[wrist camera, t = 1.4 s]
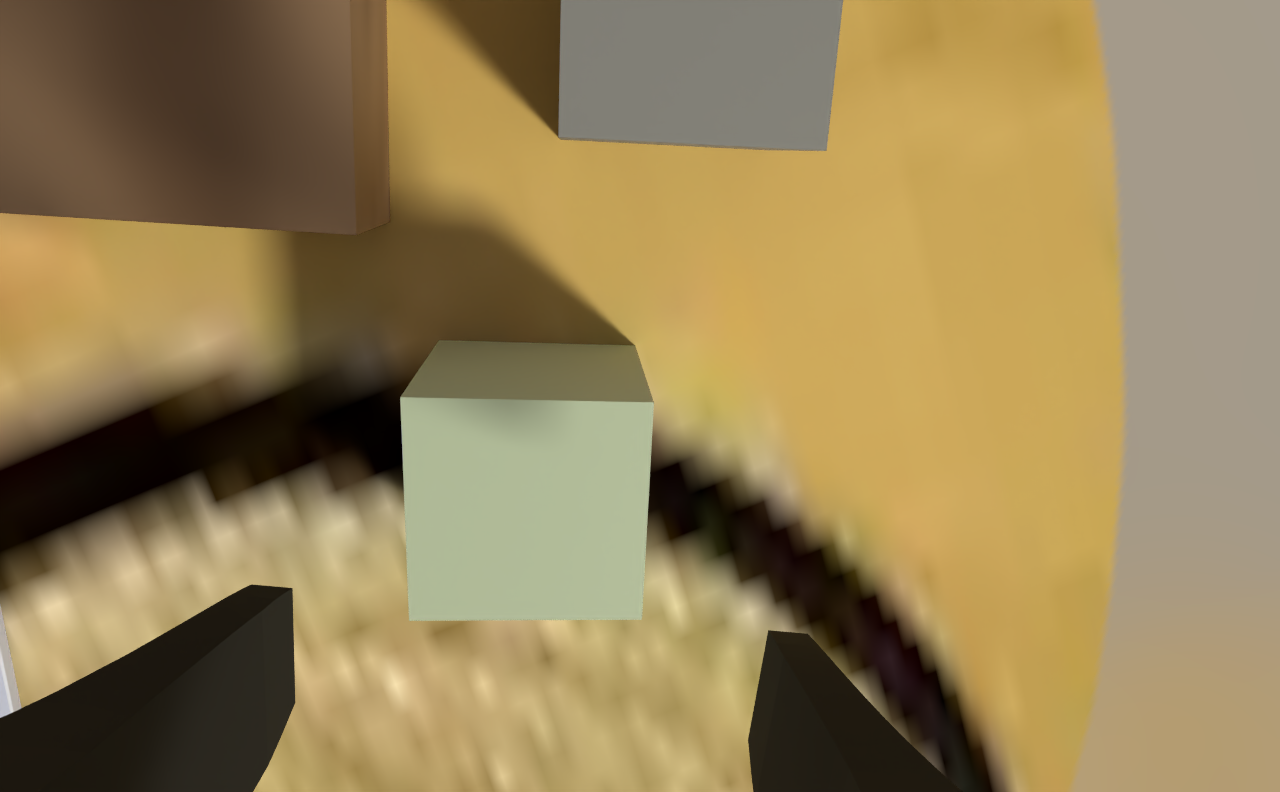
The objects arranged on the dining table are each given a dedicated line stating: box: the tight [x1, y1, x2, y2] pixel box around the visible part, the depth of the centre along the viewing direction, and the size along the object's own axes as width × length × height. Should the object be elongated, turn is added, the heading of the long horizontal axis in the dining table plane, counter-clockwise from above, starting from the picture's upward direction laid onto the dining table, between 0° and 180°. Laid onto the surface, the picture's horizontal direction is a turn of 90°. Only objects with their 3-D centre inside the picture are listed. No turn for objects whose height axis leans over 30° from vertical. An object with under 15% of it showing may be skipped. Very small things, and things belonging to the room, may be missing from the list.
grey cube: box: [558, 0, 843, 151], centre depth 17 cm, size 5×5×5 cm
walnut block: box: [0, 0, 390, 235], centre depth 17 cm, size 7×7×4 cm
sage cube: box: [400, 340, 654, 621], centre depth 19 cm, size 5×5×5 cm
